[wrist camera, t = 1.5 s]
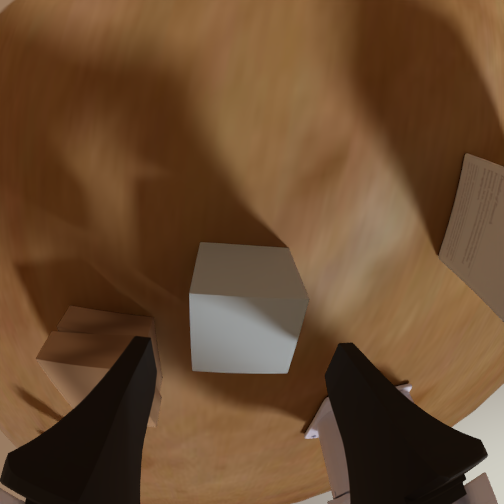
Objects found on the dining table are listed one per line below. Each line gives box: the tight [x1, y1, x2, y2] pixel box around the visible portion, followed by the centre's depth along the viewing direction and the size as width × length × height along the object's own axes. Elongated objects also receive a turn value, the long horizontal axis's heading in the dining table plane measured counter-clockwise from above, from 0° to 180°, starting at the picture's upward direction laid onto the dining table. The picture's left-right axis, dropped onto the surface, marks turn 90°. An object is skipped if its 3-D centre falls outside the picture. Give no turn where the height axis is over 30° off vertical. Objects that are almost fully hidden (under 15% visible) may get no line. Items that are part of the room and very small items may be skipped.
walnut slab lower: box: [57, 306, 163, 393], centre depth 16 cm, size 6×6×2 cm
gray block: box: [189, 242, 309, 374], centre depth 13 cm, size 4×4×4 cm
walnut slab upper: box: [36, 331, 162, 427], centre depth 14 cm, size 6×6×2 cm
